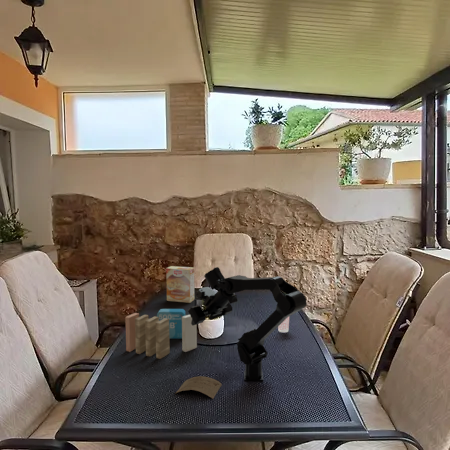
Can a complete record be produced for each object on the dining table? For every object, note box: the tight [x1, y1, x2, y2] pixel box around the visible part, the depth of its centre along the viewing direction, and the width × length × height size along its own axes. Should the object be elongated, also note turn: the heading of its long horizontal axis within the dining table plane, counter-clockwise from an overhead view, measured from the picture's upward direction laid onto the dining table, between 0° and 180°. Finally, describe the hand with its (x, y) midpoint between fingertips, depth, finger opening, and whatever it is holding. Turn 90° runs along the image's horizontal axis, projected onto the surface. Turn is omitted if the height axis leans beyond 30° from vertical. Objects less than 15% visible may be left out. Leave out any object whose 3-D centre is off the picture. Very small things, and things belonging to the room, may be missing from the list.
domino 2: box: [145, 315, 159, 357], centre depth 155 cm, size 2×6×14 cm, turn 152°
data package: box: [156, 308, 187, 340], centre depth 172 cm, size 12×4×12 cm, turn 89°
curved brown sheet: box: [174, 375, 223, 399], centre depth 127 cm, size 14×10×3 cm
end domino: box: [124, 312, 140, 353], centre depth 160 cm, size 2×6×14 cm, turn 152°
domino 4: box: [181, 314, 198, 353], centre depth 159 cm, size 2×6×14 cm, turn 135°
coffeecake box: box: [165, 265, 195, 304], centre depth 229 cm, size 15×7×20 cm, turn 73°
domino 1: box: [135, 314, 150, 355], centre depth 157 cm, size 2×6×14 cm, turn 153°
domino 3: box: [155, 318, 171, 360], centre depth 153 cm, size 2×6×14 cm, turn 153°
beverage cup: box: [277, 316, 290, 333], centre depth 179 cm, size 6×6×14 cm
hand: (200, 321), depth 153 cm, fingers open, 9 cm apart
